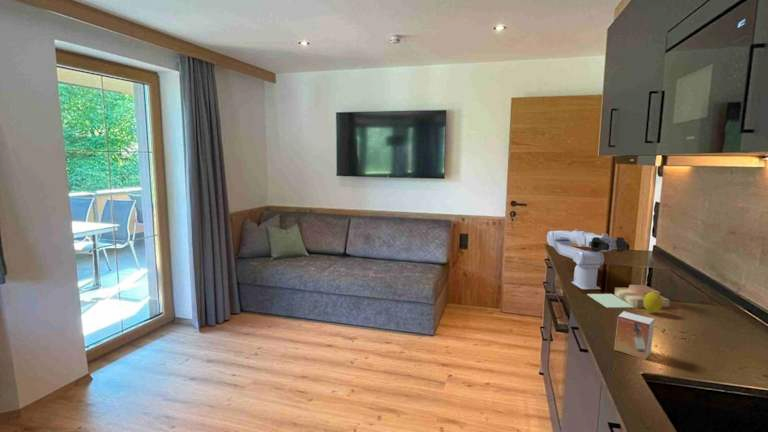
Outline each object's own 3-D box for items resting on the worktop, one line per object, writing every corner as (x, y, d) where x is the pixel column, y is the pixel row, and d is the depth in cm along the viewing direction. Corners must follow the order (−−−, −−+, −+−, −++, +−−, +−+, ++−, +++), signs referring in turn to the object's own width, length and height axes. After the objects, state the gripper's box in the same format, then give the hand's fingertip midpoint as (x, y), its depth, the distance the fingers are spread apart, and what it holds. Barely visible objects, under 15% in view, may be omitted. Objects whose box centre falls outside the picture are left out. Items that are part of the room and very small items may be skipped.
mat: (587, 294, 163) (587, 293, 163) (611, 294, 163) (611, 293, 163) (607, 308, 149) (607, 307, 149) (634, 307, 149) (634, 306, 149)
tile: (628, 289, 161) (629, 284, 160) (643, 289, 161) (644, 284, 160) (643, 297, 152) (644, 292, 151) (659, 297, 152) (660, 292, 152)
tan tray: (614, 294, 163) (615, 287, 163) (643, 294, 164) (644, 287, 163) (636, 307, 150) (637, 300, 149) (668, 307, 150) (669, 300, 149)
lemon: (657, 317, 141) (660, 295, 140) (639, 312, 145) (642, 291, 144) (663, 313, 144) (665, 292, 143) (645, 309, 148) (647, 288, 147)
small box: (613, 350, 117) (617, 315, 115) (619, 344, 121) (623, 310, 119) (645, 360, 111) (650, 324, 110) (651, 353, 115) (655, 318, 114)
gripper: (580, 232, 164) (599, 236, 150) (615, 232, 164) (637, 236, 151) (579, 249, 164) (598, 255, 151) (615, 249, 165) (637, 255, 151)
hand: (618, 247), depth 151 cm, fingers open, 7 cm apart
